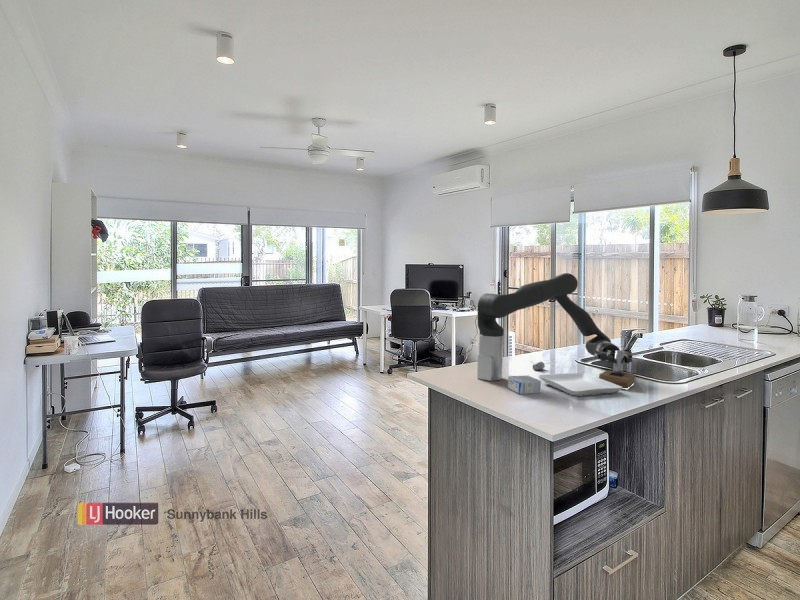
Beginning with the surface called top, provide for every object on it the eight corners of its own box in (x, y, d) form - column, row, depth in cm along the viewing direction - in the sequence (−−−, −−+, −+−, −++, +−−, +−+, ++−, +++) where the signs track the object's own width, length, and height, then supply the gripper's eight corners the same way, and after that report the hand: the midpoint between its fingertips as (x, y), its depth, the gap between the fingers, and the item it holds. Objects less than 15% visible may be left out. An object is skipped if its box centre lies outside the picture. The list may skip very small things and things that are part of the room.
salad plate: (624, 395, 159) (624, 386, 158) (573, 400, 152) (573, 390, 152) (583, 380, 179) (583, 371, 178) (536, 383, 172) (537, 374, 172)
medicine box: (528, 386, 166) (507, 388, 164) (529, 374, 166) (507, 376, 164) (540, 392, 159) (518, 394, 157) (541, 380, 158) (519, 381, 156)
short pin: (531, 366, 193) (536, 364, 197) (536, 372, 192) (541, 370, 196) (536, 362, 192) (541, 360, 195) (541, 367, 190) (546, 366, 194)
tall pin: (619, 386, 169) (623, 352, 168) (610, 384, 171) (613, 350, 170) (622, 384, 172) (625, 351, 171) (613, 383, 174) (616, 349, 173)
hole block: (627, 390, 164) (627, 379, 164) (598, 385, 171) (599, 374, 170) (634, 384, 172) (635, 374, 171) (606, 380, 178) (607, 370, 178)
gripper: (589, 341, 185) (600, 349, 169) (627, 343, 183) (641, 351, 166) (588, 359, 186) (599, 369, 169) (626, 361, 183) (640, 371, 167)
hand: (620, 360), depth 168 cm, fingers open, 5 cm apart
